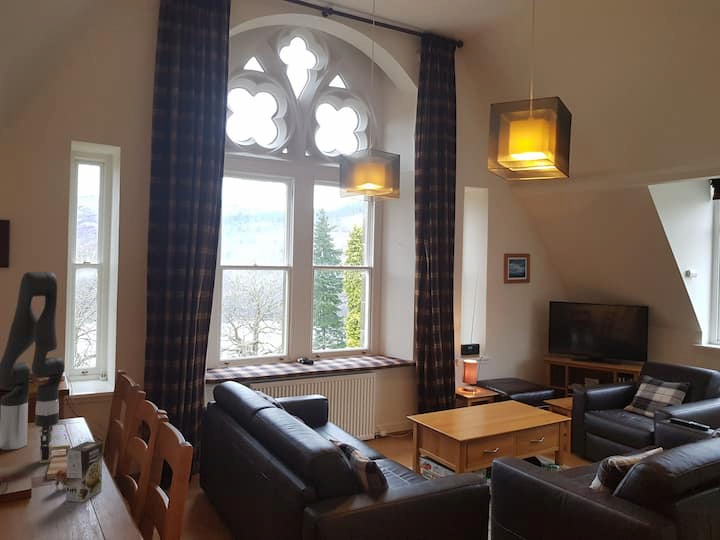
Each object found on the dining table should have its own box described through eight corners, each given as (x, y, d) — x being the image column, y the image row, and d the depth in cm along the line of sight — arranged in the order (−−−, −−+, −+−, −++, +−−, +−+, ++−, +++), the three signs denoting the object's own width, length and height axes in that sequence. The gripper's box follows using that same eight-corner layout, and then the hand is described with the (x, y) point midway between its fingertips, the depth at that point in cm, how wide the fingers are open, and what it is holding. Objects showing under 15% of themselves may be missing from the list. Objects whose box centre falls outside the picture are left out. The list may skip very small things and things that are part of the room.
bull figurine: (93, 479, 189) (94, 455, 189) (60, 494, 176) (61, 468, 176) (83, 477, 190) (84, 453, 190) (50, 491, 177) (50, 466, 177)
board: (53, 456, 209) (53, 451, 209) (70, 455, 211) (70, 449, 211) (46, 479, 187) (46, 473, 187) (64, 477, 189) (65, 471, 189)
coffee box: (83, 503, 170) (84, 451, 170) (64, 500, 171) (66, 449, 171) (102, 491, 179) (103, 442, 179) (85, 489, 180) (86, 440, 180)
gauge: (41, 459, 205) (41, 443, 205) (70, 456, 209) (70, 440, 209) (39, 463, 201) (40, 446, 201) (69, 460, 205) (70, 444, 205)
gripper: (37, 407, 209) (36, 452, 209) (32, 417, 196) (31, 465, 196) (60, 406, 212) (59, 450, 212) (56, 415, 199) (55, 462, 199)
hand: (45, 457), depth 204 cm, fingers closed on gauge, 4 cm apart
